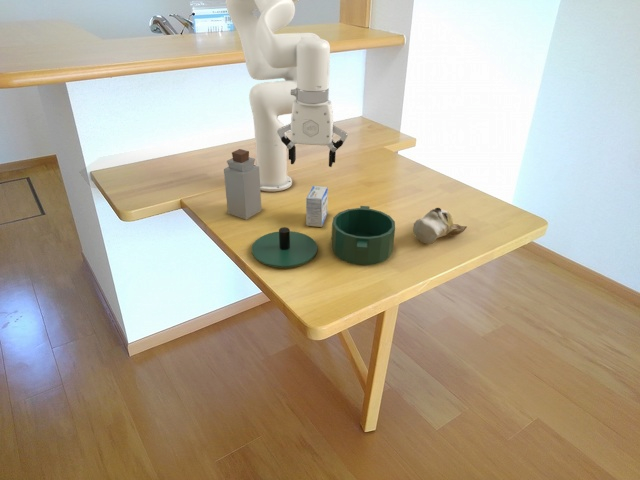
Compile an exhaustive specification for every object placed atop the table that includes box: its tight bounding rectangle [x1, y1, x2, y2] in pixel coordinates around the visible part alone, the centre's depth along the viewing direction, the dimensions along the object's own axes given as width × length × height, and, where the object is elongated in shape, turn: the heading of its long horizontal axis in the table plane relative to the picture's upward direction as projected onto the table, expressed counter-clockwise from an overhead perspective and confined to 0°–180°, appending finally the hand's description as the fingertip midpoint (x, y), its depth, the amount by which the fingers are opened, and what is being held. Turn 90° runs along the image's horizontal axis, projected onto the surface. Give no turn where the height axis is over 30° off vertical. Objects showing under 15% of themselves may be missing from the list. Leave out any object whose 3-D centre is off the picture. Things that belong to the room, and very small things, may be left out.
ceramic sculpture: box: [413, 207, 468, 245], centre depth 124 cm, size 11×9×15 cm
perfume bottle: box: [223, 148, 262, 220], centre depth 132 cm, size 7×7×18 cm
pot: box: [331, 205, 396, 266], centre depth 119 cm, size 15×21×8 cm
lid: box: [251, 226, 318, 269], centre depth 117 cm, size 16×16×6 cm
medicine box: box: [305, 185, 329, 228], centre depth 131 cm, size 8×4×9 cm, turn 168°
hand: (311, 163), depth 121 cm, fingers open, 9 cm apart
